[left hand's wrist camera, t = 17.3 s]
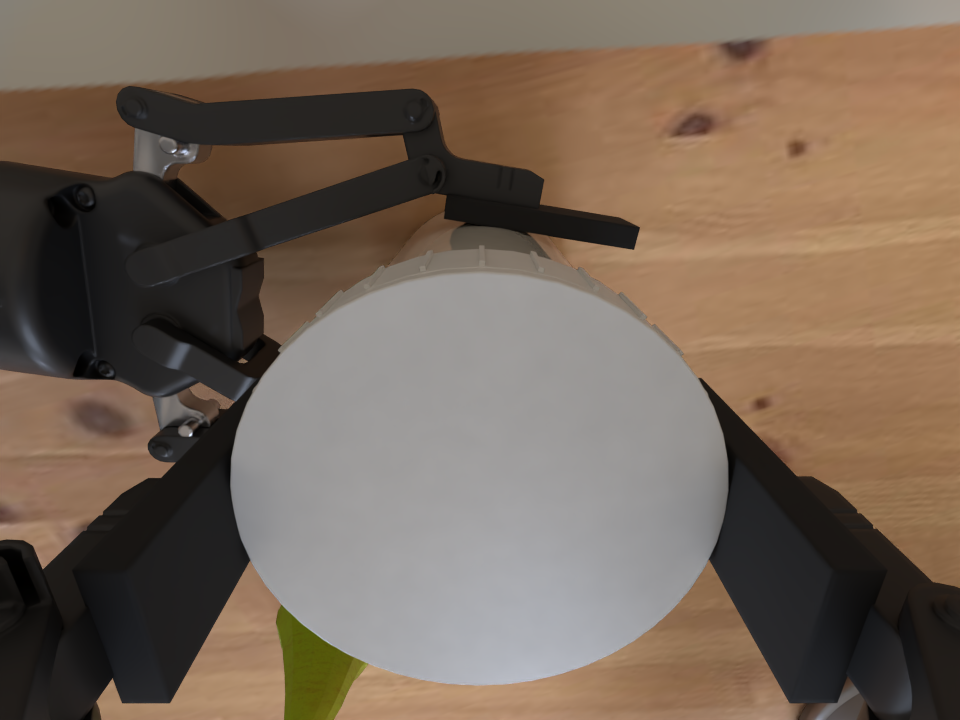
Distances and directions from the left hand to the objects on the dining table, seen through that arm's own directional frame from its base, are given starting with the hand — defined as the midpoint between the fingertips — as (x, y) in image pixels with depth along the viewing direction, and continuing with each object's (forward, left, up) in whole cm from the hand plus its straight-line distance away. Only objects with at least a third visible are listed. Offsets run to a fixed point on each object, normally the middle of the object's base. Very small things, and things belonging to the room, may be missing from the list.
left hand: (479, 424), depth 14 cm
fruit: (+5, +20, -13) cm, 24 cm away
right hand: (-5, 0, -7) cm, 8 cm away
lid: (0, 0, +3) cm, 3 cm away
